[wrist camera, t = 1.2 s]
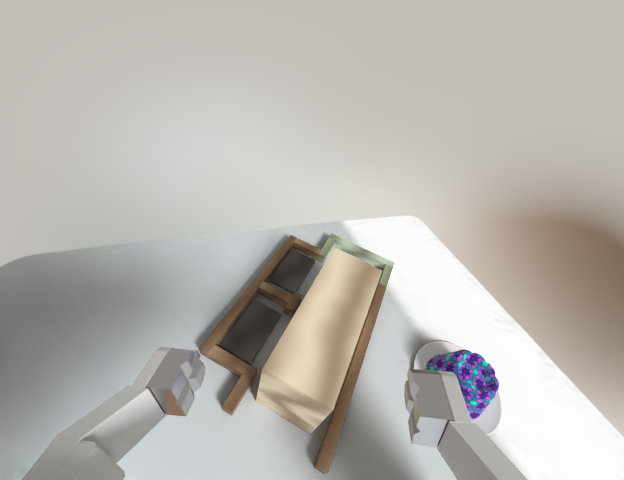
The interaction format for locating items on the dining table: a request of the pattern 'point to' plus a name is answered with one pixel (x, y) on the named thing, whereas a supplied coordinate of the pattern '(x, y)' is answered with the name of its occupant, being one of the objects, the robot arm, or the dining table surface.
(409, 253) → the dining table surface
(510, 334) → the dining table surface
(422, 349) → the pudding
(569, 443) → the dining table surface
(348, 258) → the beige rectangular block
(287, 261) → the frame
